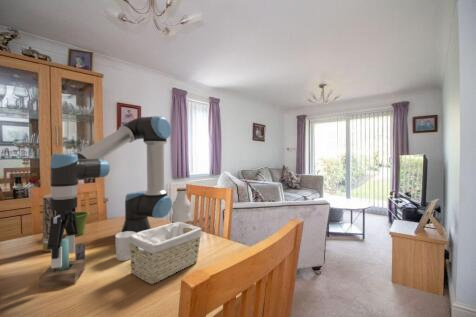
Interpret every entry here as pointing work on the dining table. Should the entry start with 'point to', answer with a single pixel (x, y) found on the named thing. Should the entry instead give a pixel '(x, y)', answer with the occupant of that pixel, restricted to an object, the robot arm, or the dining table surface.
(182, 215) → the fruit juice
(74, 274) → the hole block
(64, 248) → the long pin
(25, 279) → the dining table surface
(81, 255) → the short pin
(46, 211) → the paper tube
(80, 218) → the plant pot
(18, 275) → the dining table surface
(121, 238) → the white cup
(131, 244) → the storage basket
